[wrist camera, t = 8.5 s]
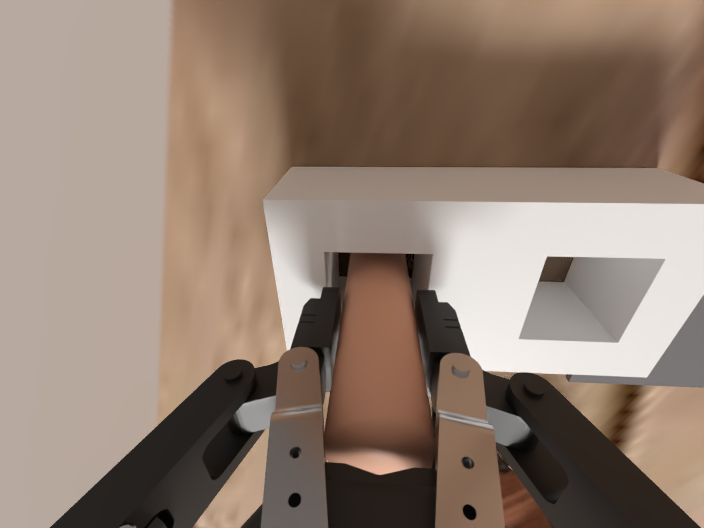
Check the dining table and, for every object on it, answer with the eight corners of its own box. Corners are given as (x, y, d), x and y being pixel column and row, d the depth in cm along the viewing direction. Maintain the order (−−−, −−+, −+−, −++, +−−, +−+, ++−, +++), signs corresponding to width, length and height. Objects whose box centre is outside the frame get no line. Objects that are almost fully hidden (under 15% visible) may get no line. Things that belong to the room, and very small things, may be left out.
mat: (784, 276, 18) (793, 280, 18) (697, 382, 23) (702, 387, 22) (617, 272, 19) (621, 276, 18) (565, 377, 23) (568, 381, 23)
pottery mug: (527, 381, 25) (620, 507, 20) (517, 401, 32) (583, 496, 27) (389, 452, 25) (445, 591, 20) (411, 455, 33) (456, 558, 28)
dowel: (408, 236, 16) (444, 421, 8) (404, 285, 18) (429, 484, 9) (349, 235, 16) (318, 414, 8) (350, 283, 18) (325, 478, 9)
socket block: (657, 168, 16) (765, 204, 11) (589, 312, 20) (646, 377, 16) (291, 166, 17) (262, 199, 12) (306, 304, 21) (289, 362, 17)
